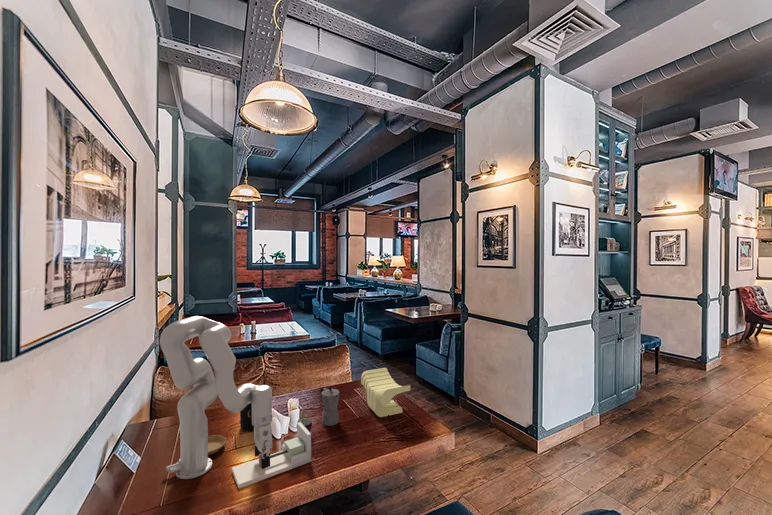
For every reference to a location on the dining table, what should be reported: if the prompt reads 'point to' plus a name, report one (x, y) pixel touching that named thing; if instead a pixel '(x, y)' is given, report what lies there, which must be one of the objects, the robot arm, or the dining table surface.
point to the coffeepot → (330, 406)
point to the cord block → (289, 449)
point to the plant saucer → (215, 443)
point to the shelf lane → (274, 462)
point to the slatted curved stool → (382, 391)
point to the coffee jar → (246, 418)
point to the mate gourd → (306, 422)
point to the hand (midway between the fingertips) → (262, 461)
